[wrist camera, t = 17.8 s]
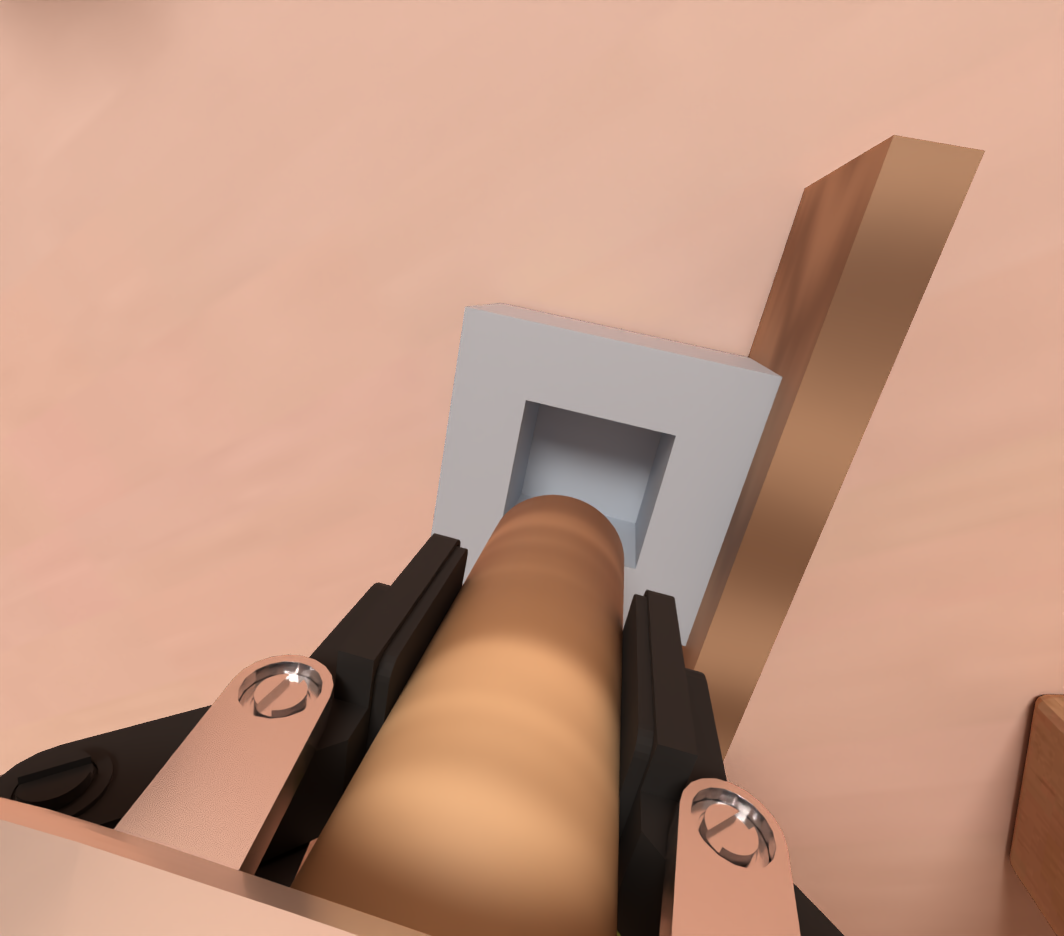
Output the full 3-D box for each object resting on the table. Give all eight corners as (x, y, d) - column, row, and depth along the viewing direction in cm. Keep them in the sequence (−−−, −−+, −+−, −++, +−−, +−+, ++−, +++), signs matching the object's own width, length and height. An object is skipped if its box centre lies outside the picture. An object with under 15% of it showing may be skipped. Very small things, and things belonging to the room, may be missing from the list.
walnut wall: (804, 188, 19) (893, 134, 12) (863, 198, 19) (985, 150, 12) (640, 679, 26) (642, 807, 20) (681, 691, 26) (696, 824, 20)
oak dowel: (503, 479, 14) (-107, 1374, 2) (640, 514, 13) (699, 1758, 2) (480, 596, 15) (1, 1569, 4) (605, 631, 14) (521, 1830, 3)
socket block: (501, 303, 22) (465, 306, 17) (749, 357, 21) (782, 377, 16) (463, 521, 25) (425, 573, 21) (675, 577, 24) (685, 646, 20)
